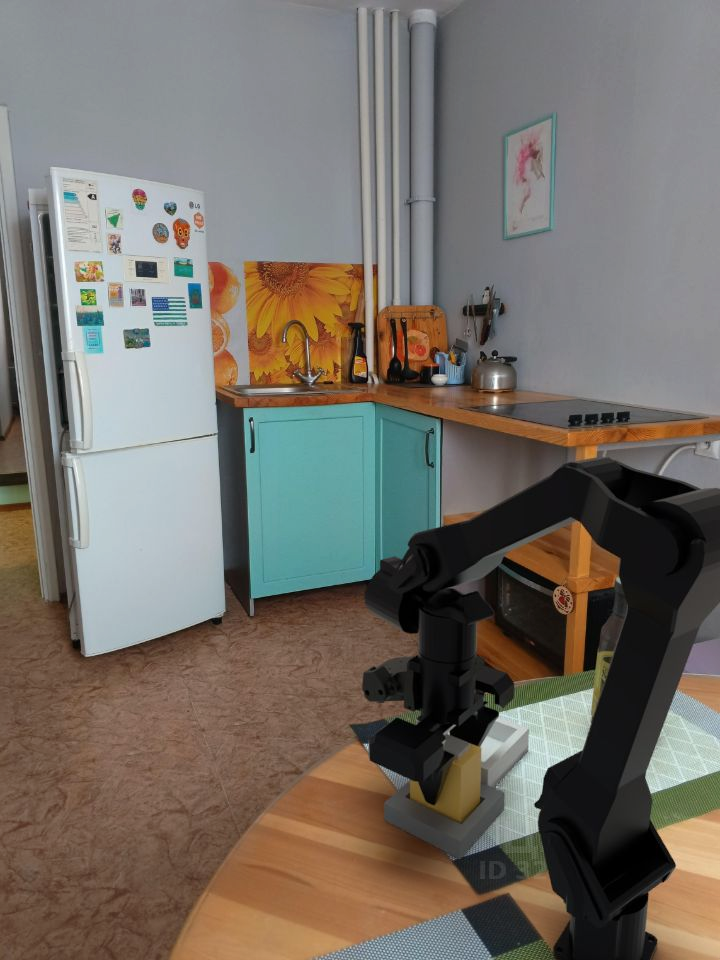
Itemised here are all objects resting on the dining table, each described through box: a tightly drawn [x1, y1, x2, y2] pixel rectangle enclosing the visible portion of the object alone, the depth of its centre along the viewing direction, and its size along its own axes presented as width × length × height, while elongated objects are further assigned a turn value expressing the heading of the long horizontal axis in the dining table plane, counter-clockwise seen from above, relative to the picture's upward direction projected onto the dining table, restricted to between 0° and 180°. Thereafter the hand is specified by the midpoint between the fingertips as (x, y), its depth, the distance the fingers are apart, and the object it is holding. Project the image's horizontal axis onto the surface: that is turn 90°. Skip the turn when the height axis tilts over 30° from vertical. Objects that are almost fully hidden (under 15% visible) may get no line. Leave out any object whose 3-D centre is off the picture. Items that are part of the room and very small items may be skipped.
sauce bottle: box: [590, 576, 627, 723], centre depth 87 cm, size 7×6×20 cm
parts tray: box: [447, 716, 530, 788], centre depth 84 cm, size 10×10×3 cm
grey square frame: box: [383, 780, 506, 860], centre depth 74 cm, size 9×9×2 cm
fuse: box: [409, 734, 482, 824], centre depth 73 cm, size 4×6×9 cm, turn 52°
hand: (445, 789), depth 74 cm, fingers open, 5 cm apart
